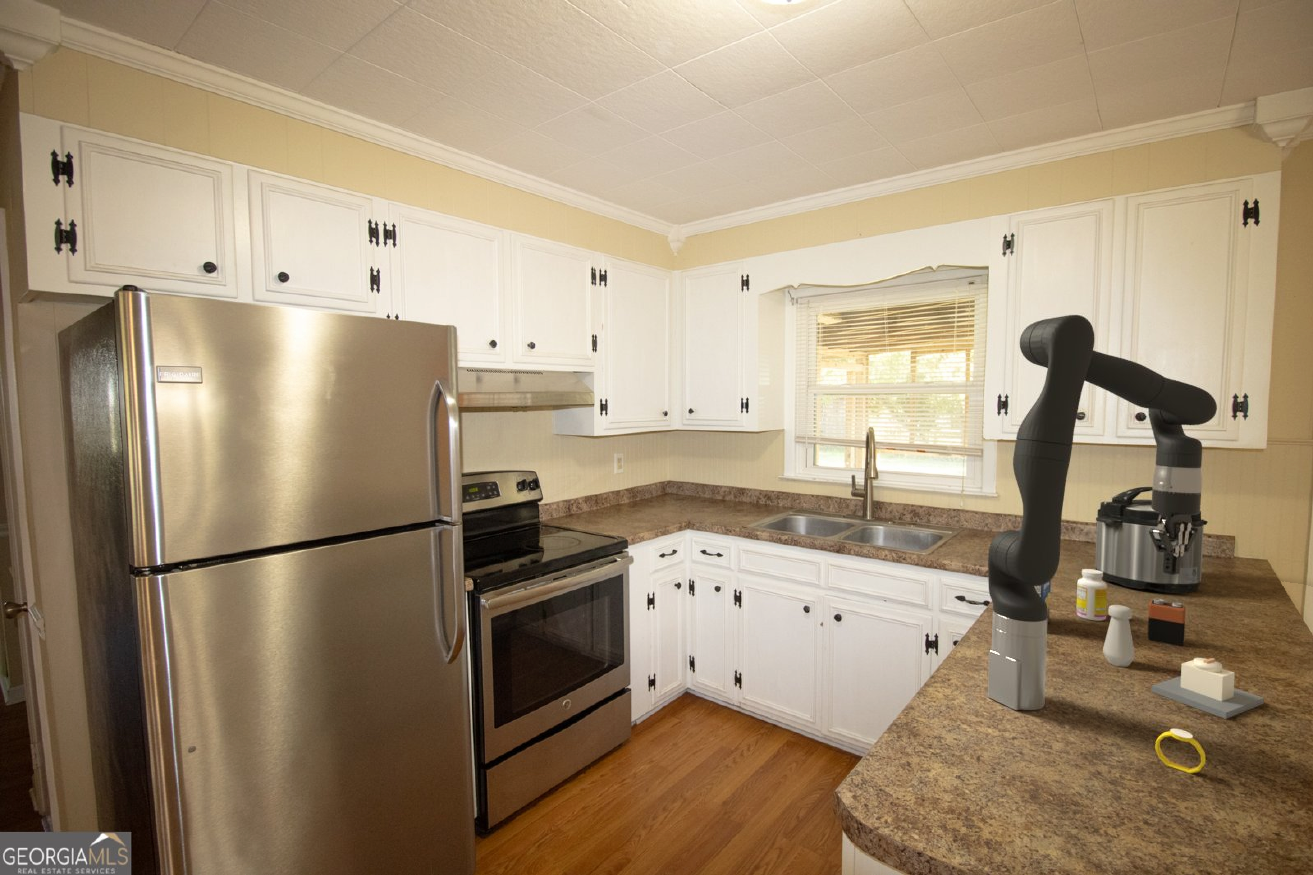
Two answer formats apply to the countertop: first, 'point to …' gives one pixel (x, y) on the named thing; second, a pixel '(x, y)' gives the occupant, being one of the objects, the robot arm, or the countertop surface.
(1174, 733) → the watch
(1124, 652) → the salt shaker
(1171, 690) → the plate
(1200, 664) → the knob
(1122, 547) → the pressure cooker
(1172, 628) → the battery
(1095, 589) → the supplement bottle
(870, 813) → the countertop surface
